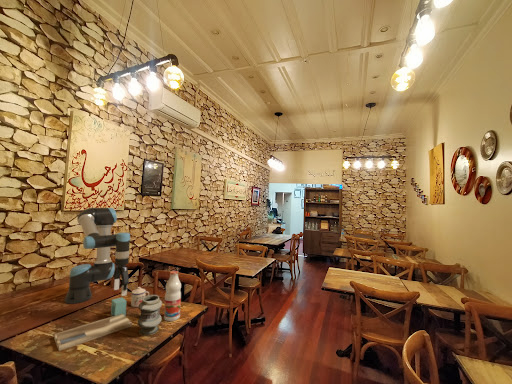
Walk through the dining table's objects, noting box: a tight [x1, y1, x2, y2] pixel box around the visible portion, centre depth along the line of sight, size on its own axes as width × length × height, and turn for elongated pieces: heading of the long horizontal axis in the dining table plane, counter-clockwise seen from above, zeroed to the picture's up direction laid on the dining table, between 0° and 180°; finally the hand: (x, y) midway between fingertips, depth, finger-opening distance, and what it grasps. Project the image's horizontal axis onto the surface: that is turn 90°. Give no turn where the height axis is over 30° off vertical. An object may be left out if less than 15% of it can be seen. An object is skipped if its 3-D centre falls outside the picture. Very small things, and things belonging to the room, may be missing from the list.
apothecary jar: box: [137, 294, 163, 337], centre depth 129 cm, size 12×12×18 cm
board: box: [53, 314, 133, 352], centre depth 126 cm, size 15×32×5 cm, turn 138°
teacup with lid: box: [130, 286, 150, 308], centre depth 162 cm, size 12×9×12 cm
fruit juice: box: [163, 270, 182, 322], centre depth 145 cm, size 9×9×28 cm
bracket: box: [110, 296, 127, 317], centre depth 145 cm, size 8×6×9 cm
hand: (120, 292), depth 145 cm, fingers open, 13 cm apart
